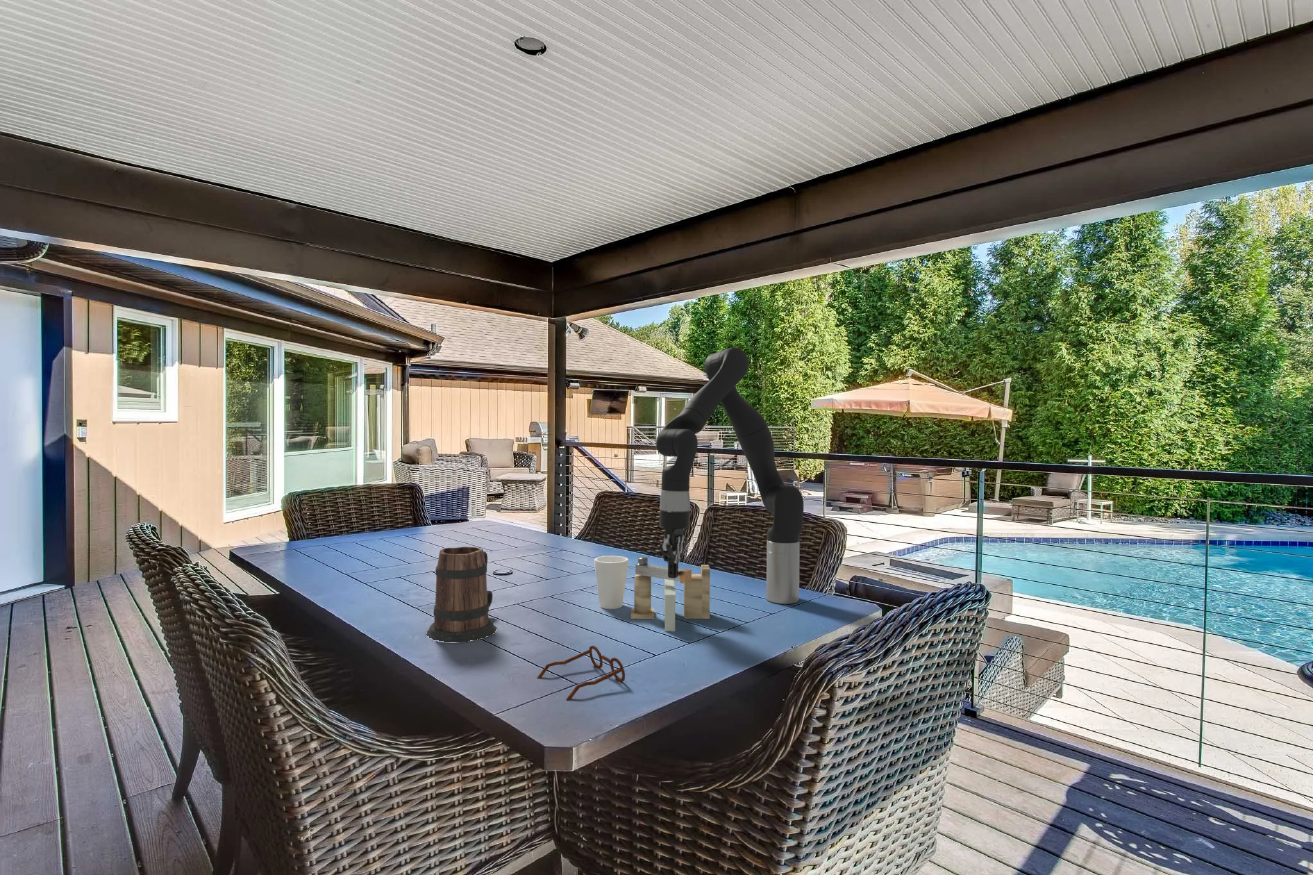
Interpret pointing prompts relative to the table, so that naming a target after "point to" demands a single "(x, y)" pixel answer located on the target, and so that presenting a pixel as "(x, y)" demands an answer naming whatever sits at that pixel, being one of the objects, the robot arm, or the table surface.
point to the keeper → (698, 595)
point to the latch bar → (660, 571)
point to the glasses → (613, 673)
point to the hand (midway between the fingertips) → (672, 577)
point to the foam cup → (611, 580)
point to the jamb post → (642, 598)
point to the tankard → (461, 596)
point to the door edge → (669, 605)
